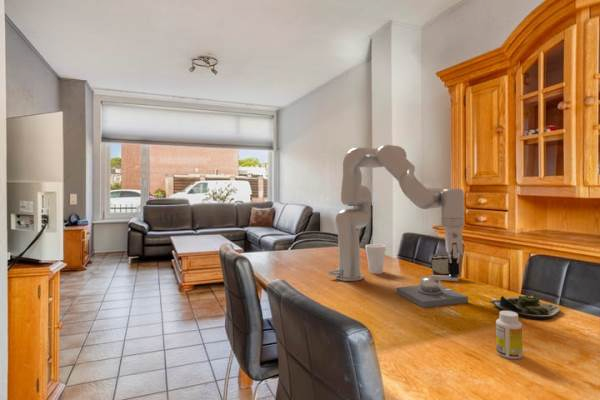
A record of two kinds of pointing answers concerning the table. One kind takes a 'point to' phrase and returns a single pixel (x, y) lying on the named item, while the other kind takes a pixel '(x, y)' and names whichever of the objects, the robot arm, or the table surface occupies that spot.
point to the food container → (440, 264)
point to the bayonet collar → (435, 281)
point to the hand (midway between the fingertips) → (453, 272)
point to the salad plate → (527, 307)
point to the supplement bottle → (509, 335)
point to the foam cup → (375, 257)
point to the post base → (431, 296)
